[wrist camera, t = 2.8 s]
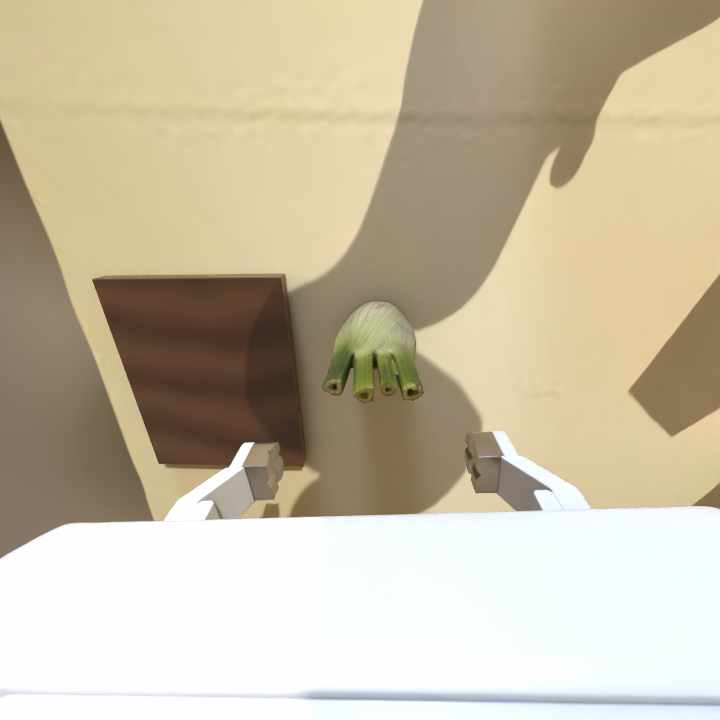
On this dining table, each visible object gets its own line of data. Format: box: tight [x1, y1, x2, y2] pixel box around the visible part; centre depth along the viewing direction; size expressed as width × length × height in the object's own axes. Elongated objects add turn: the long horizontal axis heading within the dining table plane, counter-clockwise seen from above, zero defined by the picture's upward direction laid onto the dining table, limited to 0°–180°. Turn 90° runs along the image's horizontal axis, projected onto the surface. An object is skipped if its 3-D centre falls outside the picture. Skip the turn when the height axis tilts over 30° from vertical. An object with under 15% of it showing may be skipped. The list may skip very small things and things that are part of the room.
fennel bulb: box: [322, 301, 424, 403], centre depth 24 cm, size 6×5×12 cm
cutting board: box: [92, 274, 306, 466], centre depth 32 cm, size 20×16×2 cm
